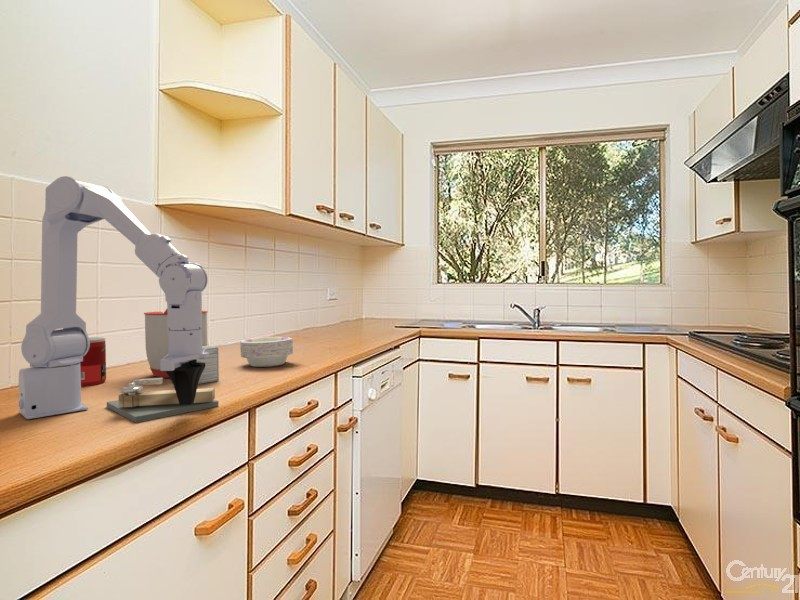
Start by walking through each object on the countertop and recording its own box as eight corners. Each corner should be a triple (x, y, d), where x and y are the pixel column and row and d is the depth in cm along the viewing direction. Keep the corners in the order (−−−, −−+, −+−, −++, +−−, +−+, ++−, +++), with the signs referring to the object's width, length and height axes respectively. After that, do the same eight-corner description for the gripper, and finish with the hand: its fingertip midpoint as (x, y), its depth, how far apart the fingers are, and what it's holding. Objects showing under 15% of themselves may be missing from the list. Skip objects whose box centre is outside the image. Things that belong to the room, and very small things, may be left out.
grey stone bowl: (237, 363, 145) (236, 337, 145) (286, 359, 152) (286, 335, 152) (245, 371, 132) (244, 343, 132) (298, 366, 139) (298, 339, 138)
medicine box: (210, 379, 121) (209, 345, 121) (219, 381, 118) (218, 346, 118) (179, 384, 115) (178, 348, 114) (188, 386, 112) (187, 350, 112)
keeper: (162, 403, 95) (161, 379, 95) (133, 406, 93) (132, 380, 93) (163, 401, 97) (162, 377, 96) (134, 404, 95) (134, 379, 95)
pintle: (124, 415, 86) (124, 386, 86) (118, 412, 89) (117, 383, 88) (145, 411, 89) (145, 382, 89) (139, 408, 91) (138, 380, 91)
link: (116, 407, 86) (115, 396, 86) (123, 402, 90) (123, 392, 90) (211, 402, 90) (211, 391, 90) (215, 397, 94) (215, 387, 94)
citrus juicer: (201, 366, 140) (200, 299, 139) (214, 375, 125) (213, 300, 124) (141, 372, 131) (140, 300, 130) (148, 382, 116) (146, 301, 116)
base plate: (135, 422, 82) (135, 416, 82) (106, 407, 93) (106, 402, 93) (218, 406, 93) (218, 401, 93) (184, 393, 104) (184, 389, 104)
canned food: (110, 383, 116) (109, 338, 116) (71, 388, 110) (70, 341, 110) (101, 379, 122) (100, 336, 121) (63, 383, 116) (62, 339, 115)
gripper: (189, 333, 79) (190, 414, 79) (222, 325, 93) (223, 394, 93) (147, 333, 79) (148, 414, 79) (186, 326, 93) (187, 394, 93)
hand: (186, 403), depth 86 cm, fingers closed
